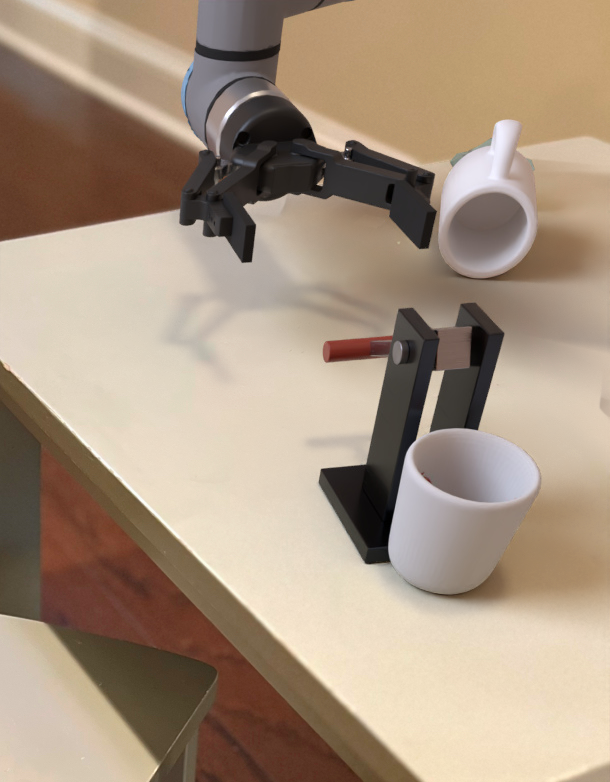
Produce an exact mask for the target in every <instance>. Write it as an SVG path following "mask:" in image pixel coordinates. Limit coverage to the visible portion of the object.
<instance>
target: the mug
mask: <svg viewBox="0 0 610 782" xmlns="http://www.w3.org/2000/svg"><path fill="white" fill-rule="evenodd" d="M493 126H494V127H493V131H492V136H491V138H492V142H491V146H485V147H482V148H479V149H476V150H474V151H472V152H470V153H468V154H467V155H465V156H464V157H463V158H461V159H460V160H459V161H458V162H457V163H456V164H455V165H454V167H452V168H451V169H450V171H449V172H448V174H447V176H446V178H445V179H444V183H443V185H442V189H441V197H440V207H439V208H440V209H439V220H438V222H439V223H438V231H437V233H438V234H437V243H438V248H439V252H440V255H441V256H442V258H443V261H444V262H445V263H446V264H447V266H448V267H449V268H450V269H451V270H453V271H454V272H455V273H457V274H460V275H461V276H464V277H467V278H472V279H488V278H493V277H497V276H500V275H502V274H505V273H506V272H508V271H510V270H511V269H513V268H514V267H515V266H517V265H519V263H521V261H523V259H524V258H526V255H528V254H529V252H530V250H531V249H532V247H533V244H534V242H535V240H536V237H537V233H538V226H539V220H538V219H539V218H538V205H537V204H538V203H537V190H536V177H535V173H534V172H535V171H533V169H532V167H531V165H530V163H529V162H528V160H527V159H528V158H527V157H526V156H524V154H522V153H521V152H520V151H519V150H517V148H518V144H519V141H520V138H521V134H522V130H523V124H522V122H520V121H518V120H515V119H502V120H499V121H497V122H496V123H495V124H494V125H493ZM526 158H527V159H526Z"/></svg>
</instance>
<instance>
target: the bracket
mask: <svg viewBox="0 0 610 782" xmlns="http://www.w3.org/2000/svg"><path fill="white" fill-rule="evenodd" d="M454 325H455V326H454V327H466V326H471V327H472V340H471V359H470V368H466V369H455V370H444V371H443V375H442V379H441V382H440V387H439V391H438V395H437V399H436V403H435V407H434V411H433V415H432V420H431V424H430V428H429V432H428V433H430V432H433V431H437V430H442V429H453V428H460V429H472V430H479V429H480V425H481V421H482V418H483V414H484V410H485V406H486V402H487V400H488V397H489V396H488V395H489V392H490V390H491V389H490V388H491V385H492V382H493V377H494V373H495V371H496V366H497V363H498V359H499V356H500V352H501V349H502V345H503V341H504V337H505V331H504V330H503V329H501V328H500V326H499V325H498V324H497V323H496V322H495V321H494V320H493V319H492V318H491V317H490V316H489V315H488V314H487V313H486V311H484V310H483V308H482V307H481V306H480V305H479V304H478V303H477V302H473V301H472V302H462V303H460V305H459V309H458V312H457V316H456V321H455V324H454ZM392 335H393V337H392V341H391V346H390V351H389V356H388V358H387V361H386V367H385V370H384V376H383V381H382V385H381V390H380V395H379V400H378V405H377V409H376V415H375V420H374V423H373V429H372V433H371V438H370V444H369V447H368V453H367V458H366V463H365V464H355V465H346V466H335V467H334V466H333V467H324V468H320V471H319V476H318V482H317V483H318V485H319V487H320V488H321V490H322V492H323V494H324V495H325V497H326V498H327V500H328V502H329V504H330V505H331V507H332V509H333V511H334V513H335V514H336V515H337V518H338V519H339V521H340V522H341V524H342V526H343V528H344V530H345V531H346V533H347V535H348V537H349V538H350V540H351V541H352V543H353V545H354V546H355V548H356V551H357V552H358V554H359V556H360V558H361V559H362V560H363V562H364V563H365V564H373V563H382V562H383V563H384V562H391V561H390V557H389V550H388V545H389V536H390V530H391V525H392V520H393V516H394V511H395V506H396V501H397V496H398V491H399V486H400V481H401V476H402V471H403V466H404V461H405V457H406V454H407V451H408V449H409V448H410V446H411V445H412V444H413V443H414V442H415V441H416V440H417V439H418V433H419V430H420V425H421V421H422V417H423V414H424V413H423V412H424V409H425V408H424V407H425V404H426V400H427V395H428V392H429V387H430V382H431V379H432V375H433V371H432V370H433V366H434V362H435V358H436V354H437V349H438V345H439V341H440V338H439V337H438V336H437V335H436V334H435V332H434V331H433V330H432V328H431V326H430V325H429V324H428V323H427V322H426V321H425V319H424V318H423V317H422V316H421V315H420V314H419V312H418V311H417V310H416V309H415V307H402V308H397V313H396V317H395V323H394V327H393V333H392Z"/></svg>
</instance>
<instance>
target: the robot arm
mask: <svg viewBox="0 0 610 782" xmlns="http://www.w3.org/2000/svg"><path fill="white" fill-rule="evenodd" d="M354 1H355V0H198V5H197V17H196V33H195V46H194V51H193V61H192V62H191V64H190V65H189V67H188V69H187V70H186V73H185V75H184V77H183V80H182V84H181V90H180V101H181V107H182V110H183V113H184V116H185V117H186V119H187V123H188V125H189V127H190V130H191V131H192V133H193V135H194V136H195V137H196V138H198V140H199V141H200V142H201V143H202V144H203V145H204V146H205V148H206V149H202V150H199V151H198V159H197V160H198V161H197V166H196V167H195V169H194V171H193V172H192V173H191V175H190V176H189V178H188V180H187V181H186V182H185V184H184V185H183V187H182V188H181V193H180V204H179V205H180V206H179V219H178V221H179V222H178V223H179V225H181V226H182V227H183V226H184V227H189V226H193V225H195V223H196V222H197V221H203V225H202V236H204V237H206V238H215V237H218V238H225V240H226V241H227V242H228V244H229V245H230V247H231V249H232V250H233V252H234V254H235V255H236V256H237V257H238V259H239V261H240V263H241V264H247V263H252V262H253V257H254V248H255V238H256V230H257V224H256V222H255V221H254V219H253V218H252V217H251V215H250V214H249V212H248V211H247V210H246V208H245V206H246V205H247V204H248V205H256V203H258V202H272V201H275V200H279V199H281V198H284V197H285V196H287V195H288V194H290V195H294V196H300V195H306V196H310V197H313V198H316V199H321V200H328V199H329V198H331V197H333V196H334V197H338V198H342V199H346V200H350V201H353V202H356V203H361V204H365V205H368V206H372V207H376V208H379V209H383V210H387V211H389V213H388V218H389V219H390V220H391V221H392V222H393V223H394V224H395V225H396V226H397V227H398V229H399V230H400V231H401V232H402V233H403V234H404V235H405V236H406V237H407V238H408V239H409V240H410V242H412V244H413V245H414V246H415V247H416V248H417V249H418V250H429V249H430V246H431V245H430V244H431V241H432V236H433V232H434V231H433V230H434V226H435V222H436V219H437V213H438V211H437V209H435V207H433V205H431V197H432V192H433V188H434V183H435V178H436V173H435V172H433V171H430V170H427V169H425V168H423V167H419V166H416V165H414V164H411V163H409V162H406V161H403V160H400V159H398V158H395V157H393V156H390V155H387V154H384V153H382V152H379V151H376V150H374V149H371V148H369V147H368V146H366V145H364V143H362V142H360V141H359V140H356V139H350V140H346V141H345V144H344V151H339V150H337V149H332V148H329V147H326V146H324V145H321V144H318V142H317V140H316V139H317V138H316V135H315V132H314V129H313V127H312V124H311V122H309V120H308V118H307V117H306V116H305V115H304V114H303V112H302V111H300V109H298V108H297V106H295V105H294V103H293V102H292V101H291V99H290V98H289V97H288V95H286V94H285V93H284V92H283V91H282V90H281V89H280V88H279V87H278V86H277V85H276V80H277V74H278V65H279V56H280V51H281V45H282V36H283V28H284V27H283V26H284V19H288V18H291V17H294V16H298V15H301V14H305V13H307V12H311V11H315V10H318V9H322V8H326V7H329V6H334V5H338V4H341V3H346V2H348V3H349V2H354ZM321 181H322V185H320V184H319V183H320V182H321Z"/></svg>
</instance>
